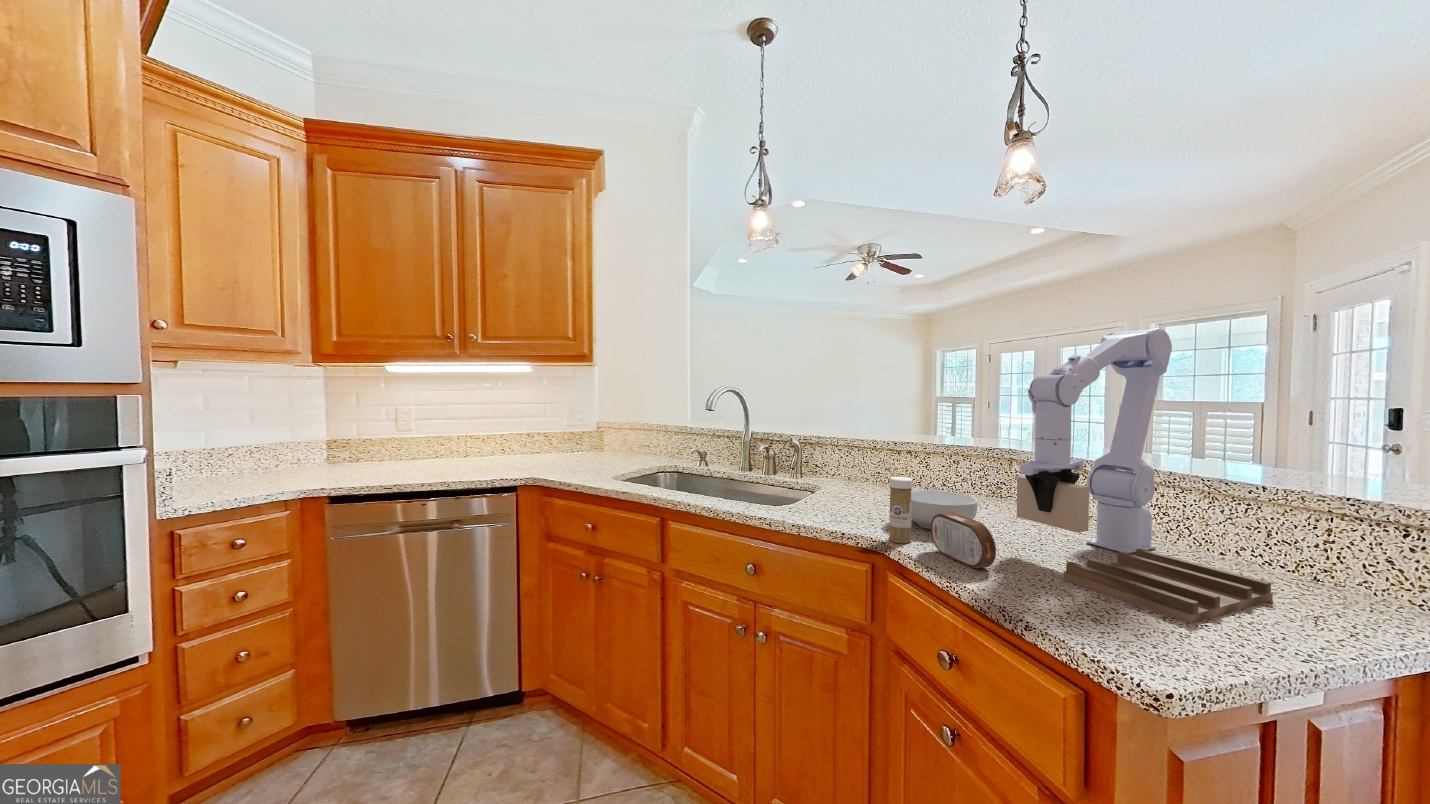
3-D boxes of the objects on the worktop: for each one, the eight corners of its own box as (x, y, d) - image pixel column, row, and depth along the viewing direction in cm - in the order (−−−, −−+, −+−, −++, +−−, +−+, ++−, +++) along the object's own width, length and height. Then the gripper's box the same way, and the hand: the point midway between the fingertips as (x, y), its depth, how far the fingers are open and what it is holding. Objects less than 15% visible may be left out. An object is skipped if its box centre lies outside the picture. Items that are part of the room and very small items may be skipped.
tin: (997, 573, 94) (998, 526, 93) (982, 575, 93) (982, 527, 92) (941, 548, 108) (941, 506, 108) (927, 549, 107) (928, 507, 107)
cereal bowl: (994, 534, 117) (994, 502, 117) (924, 538, 115) (924, 506, 114) (948, 515, 134) (949, 487, 134) (886, 518, 131) (887, 490, 131)
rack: (1141, 563, 98) (1142, 548, 98) (1272, 600, 82) (1273, 582, 81) (1063, 579, 91) (1063, 563, 90) (1190, 623, 74) (1190, 603, 74)
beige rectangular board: (1027, 515, 107) (1028, 475, 106) (1088, 530, 96) (1089, 486, 95) (1016, 516, 106) (1017, 476, 105) (1076, 532, 94) (1077, 487, 94)
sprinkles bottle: (888, 542, 111) (888, 479, 111) (889, 536, 116) (890, 475, 115) (911, 545, 110) (912, 480, 109) (912, 539, 114) (912, 476, 113)
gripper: (1058, 434, 106) (1057, 502, 107) (1005, 438, 101) (1004, 509, 102) (1095, 438, 100) (1093, 510, 100) (1040, 442, 94) (1039, 517, 95)
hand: (1051, 510), depth 100 cm, fingers closed on beige rectangular board, 3 cm apart
